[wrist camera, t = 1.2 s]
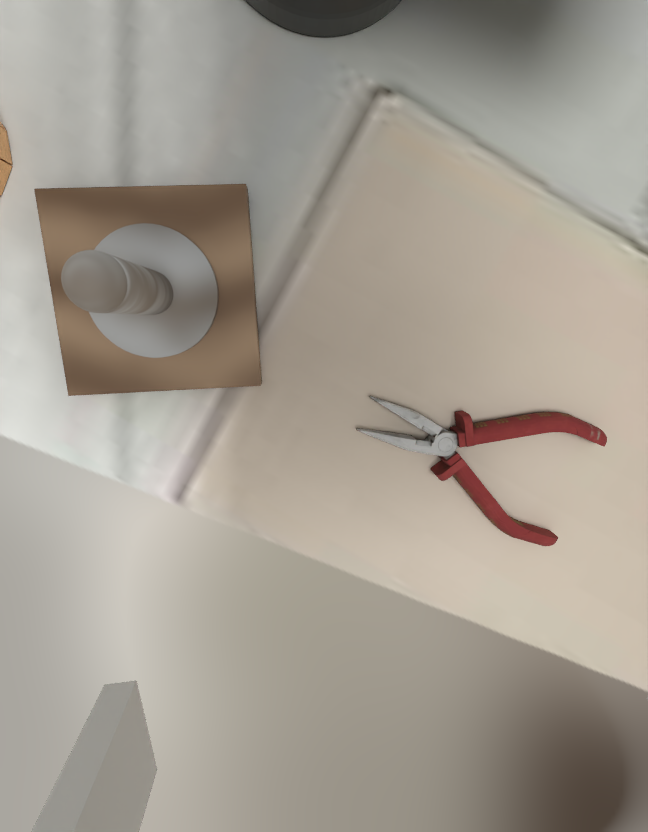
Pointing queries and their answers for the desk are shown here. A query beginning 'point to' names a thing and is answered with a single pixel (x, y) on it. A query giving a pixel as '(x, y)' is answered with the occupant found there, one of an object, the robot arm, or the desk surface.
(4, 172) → the light wood ring
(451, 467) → the pliers
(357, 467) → the desk surface
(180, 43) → the desk surface
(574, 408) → the desk surface
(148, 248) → the bobbin stand
